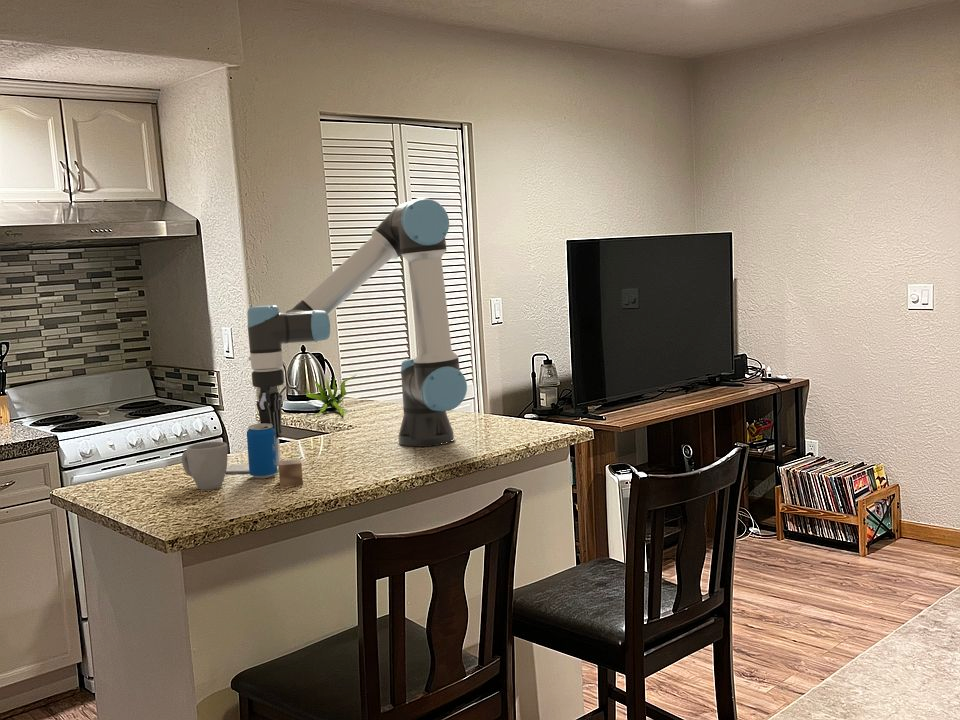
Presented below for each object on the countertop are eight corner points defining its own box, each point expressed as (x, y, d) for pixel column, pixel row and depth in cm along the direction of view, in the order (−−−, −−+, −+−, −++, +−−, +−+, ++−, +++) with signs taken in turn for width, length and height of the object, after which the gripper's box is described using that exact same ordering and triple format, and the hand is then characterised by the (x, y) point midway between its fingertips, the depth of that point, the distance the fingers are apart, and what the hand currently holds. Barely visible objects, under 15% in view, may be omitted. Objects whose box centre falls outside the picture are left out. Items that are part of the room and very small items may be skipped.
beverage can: (270, 479, 214) (267, 429, 212) (245, 479, 215) (241, 429, 213) (281, 472, 220) (278, 423, 218) (256, 471, 221) (253, 422, 219)
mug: (238, 483, 211) (235, 442, 210) (210, 492, 203) (207, 450, 202) (198, 480, 217) (195, 440, 216) (170, 489, 209) (167, 447, 208)
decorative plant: (293, 422, 299) (290, 377, 297) (325, 407, 328) (322, 366, 326) (346, 421, 295) (343, 376, 294) (374, 406, 324) (371, 365, 323)
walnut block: (301, 480, 212) (300, 459, 211) (302, 485, 207) (301, 463, 207) (279, 482, 211) (278, 461, 210) (280, 487, 206) (278, 465, 205)
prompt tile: (267, 465, 231) (267, 462, 230) (255, 473, 221) (255, 470, 221) (232, 466, 231) (232, 463, 231) (218, 474, 222) (218, 471, 222)
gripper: (260, 367, 229) (267, 460, 231) (243, 373, 216) (251, 471, 218) (290, 365, 228) (297, 459, 231) (274, 372, 215) (281, 470, 218)
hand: (274, 465), depth 224 cm, fingers closed
